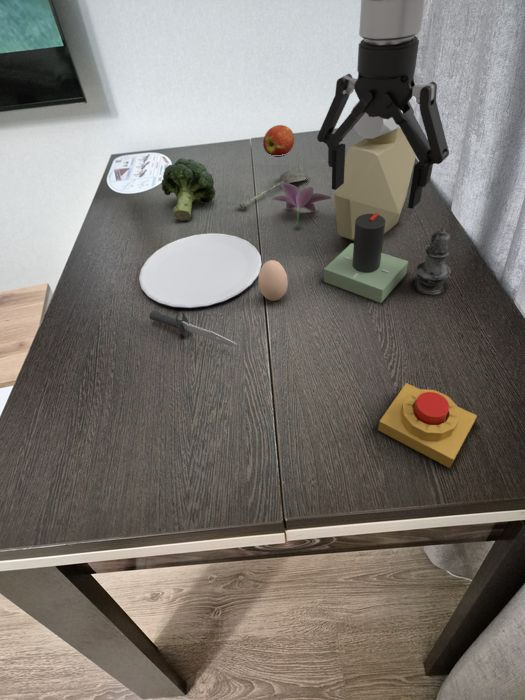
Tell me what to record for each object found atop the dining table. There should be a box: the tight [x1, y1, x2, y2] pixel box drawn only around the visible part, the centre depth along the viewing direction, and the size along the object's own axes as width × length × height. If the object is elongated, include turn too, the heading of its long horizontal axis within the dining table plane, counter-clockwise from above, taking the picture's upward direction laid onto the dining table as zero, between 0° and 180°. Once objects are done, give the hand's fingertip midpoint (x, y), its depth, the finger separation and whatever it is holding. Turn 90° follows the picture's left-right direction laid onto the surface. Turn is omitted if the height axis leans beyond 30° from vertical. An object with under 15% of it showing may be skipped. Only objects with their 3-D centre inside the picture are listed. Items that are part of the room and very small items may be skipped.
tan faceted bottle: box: [333, 96, 418, 242], centre depth 84 cm, size 12×24×28 cm, turn 137°
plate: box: [138, 232, 263, 309], centre depth 89 cm, size 25×25×1 cm
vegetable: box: [161, 157, 216, 222], centre depth 105 cm, size 12×13×15 cm
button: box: [414, 392, 449, 425], centre depth 56 cm, size 4×4×2 cm
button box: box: [377, 382, 478, 469], centre depth 58 cm, size 10×8×4 cm
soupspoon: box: [239, 170, 308, 211], centre depth 109 cm, size 22×3×7 cm
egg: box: [257, 259, 289, 302], centre depth 78 cm, size 5×5×8 cm
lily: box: [271, 181, 332, 229], centre depth 97 cm, size 12×12×10 cm
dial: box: [352, 213, 385, 273], centre depth 78 cm, size 5×5×9 cm
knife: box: [148, 310, 239, 346], centre depth 74 cm, size 19×2×5 cm, turn 58°
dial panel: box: [323, 242, 409, 304], centre depth 82 cm, size 12×10×3 cm
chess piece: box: [413, 226, 452, 296], centre depth 76 cm, size 6×6×12 cm
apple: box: [262, 124, 295, 158], centre depth 122 cm, size 8×8×8 cm
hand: (374, 195), depth 71 cm, fingers open, 13 cm apart
